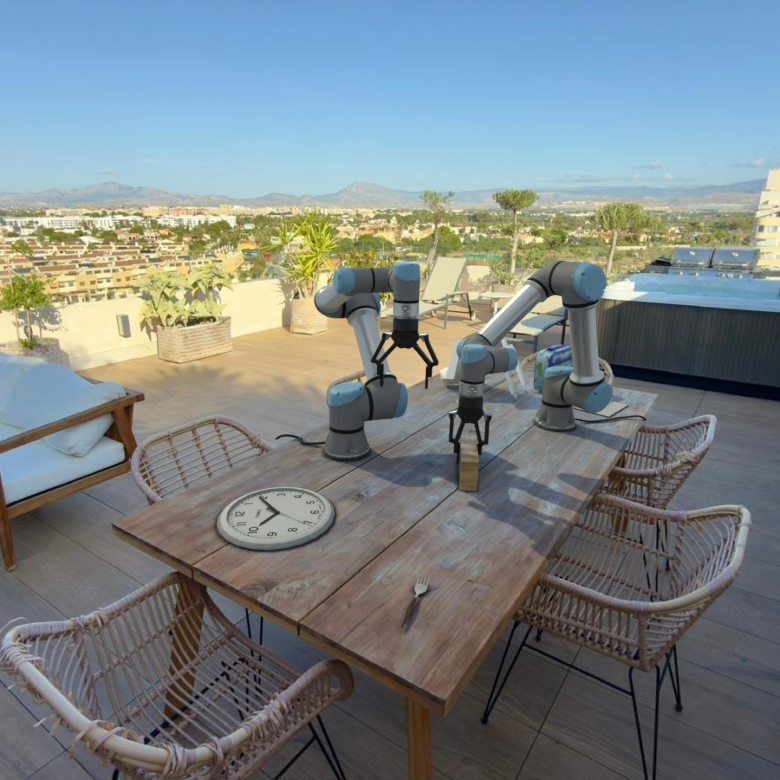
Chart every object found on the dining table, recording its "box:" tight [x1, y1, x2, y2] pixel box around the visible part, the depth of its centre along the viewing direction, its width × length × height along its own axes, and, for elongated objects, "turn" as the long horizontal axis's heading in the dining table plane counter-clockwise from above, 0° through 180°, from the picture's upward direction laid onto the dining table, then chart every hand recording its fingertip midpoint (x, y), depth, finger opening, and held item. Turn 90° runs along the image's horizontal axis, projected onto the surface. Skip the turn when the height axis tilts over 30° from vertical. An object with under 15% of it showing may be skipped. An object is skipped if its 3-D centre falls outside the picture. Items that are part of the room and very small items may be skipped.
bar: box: [458, 433, 480, 492], centre depth 161 cm, size 22×5×9 cm, turn 173°
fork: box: [400, 570, 431, 629], centre depth 106 cm, size 3×16×2 cm, turn 160°
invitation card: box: [573, 400, 629, 418], centre depth 226 cm, size 21×1×15 cm
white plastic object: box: [438, 310, 531, 400], centre depth 245 cm, size 37×45×31 cm
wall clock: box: [216, 486, 336, 551], centre depth 136 cm, size 30×2×30 cm
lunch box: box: [533, 344, 573, 392], centre depth 247 cm, size 26×11×21 cm, turn 134°
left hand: (404, 386), depth 159 cm, fingers open, 13 cm apart
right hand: (466, 462), depth 169 cm, fingers closed on bar, 5 cm apart
